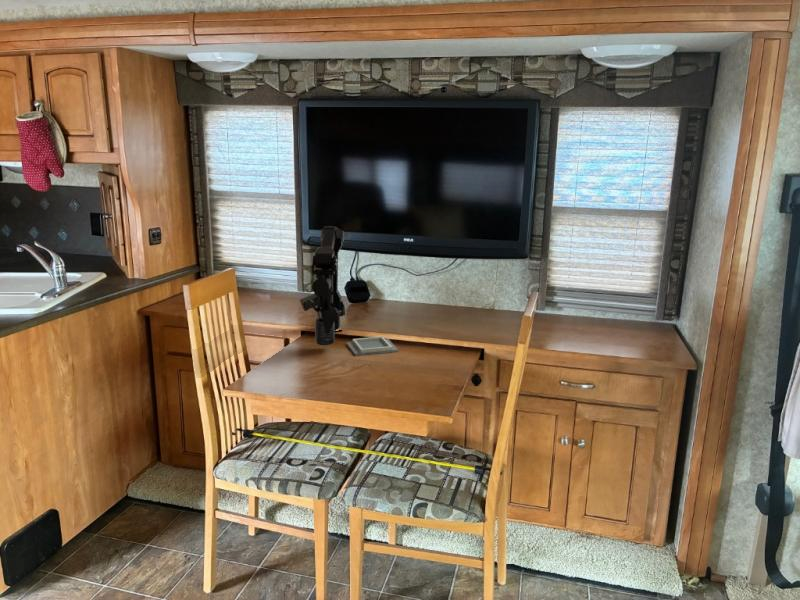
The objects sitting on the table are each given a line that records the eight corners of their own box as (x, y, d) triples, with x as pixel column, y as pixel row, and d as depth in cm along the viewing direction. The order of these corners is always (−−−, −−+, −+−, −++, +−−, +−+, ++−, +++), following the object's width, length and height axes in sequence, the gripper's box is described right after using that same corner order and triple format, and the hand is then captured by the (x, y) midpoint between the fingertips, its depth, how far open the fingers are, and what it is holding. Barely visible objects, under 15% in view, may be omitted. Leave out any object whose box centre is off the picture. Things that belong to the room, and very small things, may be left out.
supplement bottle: (313, 340, 219) (313, 308, 215) (331, 338, 221) (331, 306, 218) (317, 346, 213) (317, 313, 209) (336, 344, 215) (336, 312, 212)
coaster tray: (346, 344, 224) (346, 339, 224) (387, 340, 229) (387, 335, 229) (355, 355, 213) (355, 350, 213) (398, 351, 219) (398, 346, 218)
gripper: (296, 282, 217) (297, 324, 221) (306, 296, 200) (307, 341, 205) (327, 280, 221) (327, 321, 225) (339, 294, 204) (339, 338, 208)
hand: (324, 330), depth 216 cm, fingers closed on supplement bottle, 7 cm apart
